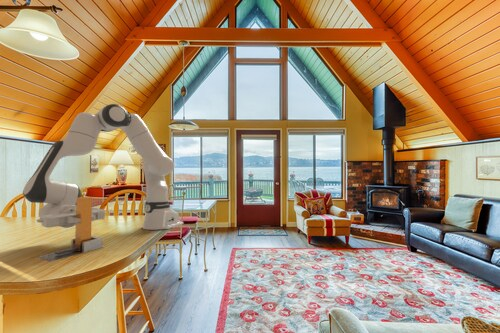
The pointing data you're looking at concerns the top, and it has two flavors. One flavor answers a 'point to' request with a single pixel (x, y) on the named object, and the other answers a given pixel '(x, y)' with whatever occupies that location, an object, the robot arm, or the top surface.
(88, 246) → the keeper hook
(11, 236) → the top surface
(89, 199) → the orange upright panel
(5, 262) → the top surface
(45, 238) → the top surface
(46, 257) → the rail plate
